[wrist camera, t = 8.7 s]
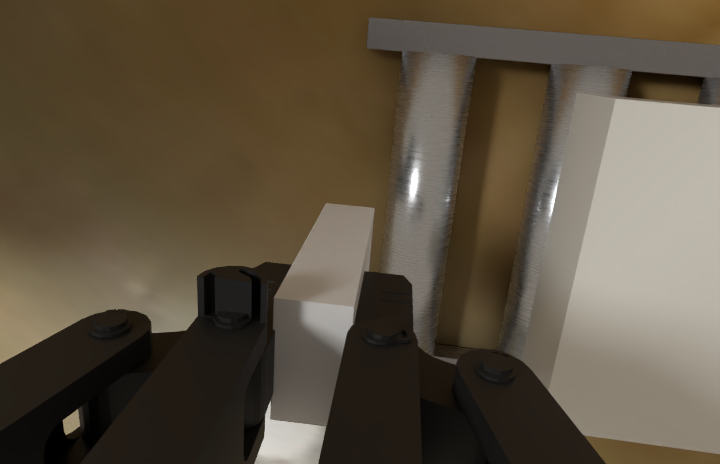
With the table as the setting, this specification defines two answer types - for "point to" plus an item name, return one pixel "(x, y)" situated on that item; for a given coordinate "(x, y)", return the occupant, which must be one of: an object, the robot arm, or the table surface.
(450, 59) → the roller bed
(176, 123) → the table surface
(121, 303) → the table surface
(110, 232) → the table surface
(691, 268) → the slab
